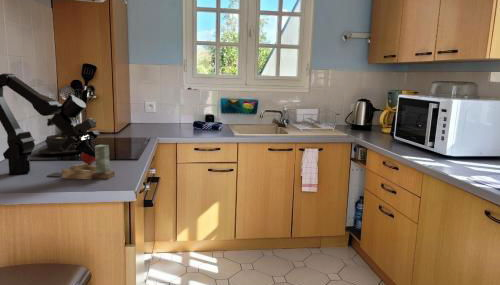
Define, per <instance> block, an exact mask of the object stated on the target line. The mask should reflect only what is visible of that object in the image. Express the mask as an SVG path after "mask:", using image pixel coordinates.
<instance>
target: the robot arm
mask: <svg viewBox="0 0 500 285" xmlns="http://www.w3.org/2000/svg"><path fill="white" fill-rule="evenodd" d="M4 87H8V88H9V89H10V90H12V91H13V92H15V93H16V94H17V95H19V96H21V97H22V98H24V99H25V100H27V101H28V103H30V104H31V106H32V107H33V109H34V110H35V111H36V112H37V113H38V114H39V115H40V116H42V117H46V116H47V117H48V116H52V117H51V118H47V122H46V125H47V127H51V126H56V128H57V129H58V130H59V131H60V133H61V135H62V136H66V137H67V138H66V140H65V141H64V142H63V143H62V144H61V149H62V150H63V151H64V152H66V151H69V150H70V149H69V147H70V146H71V145H74V144H75V146H76V148H75V149H74V150H75V151H79V152H80V153H81V154H82V153H85V154H88V155H90V156H93V157H95V145H94V143H93V142H95V140H96V139H97V138H98V137H99V136H100V135H101V133H100V132H99V131H98V130H96V129H95V128H97V121H96V120H95V119H94V118H92V117H89V118H87V119H85V120H84V121H82V122H75V121H74V120H73V119H76V118H78V116H79V115H80V114H81V113H82V112H83V111H84V110H85V109H86V107H87V105H86V103H85V102H84V101H83V99H80V98H78V97H76V95H74V94H70V95H68V96H67V97H66V99H65V101H64V102H62V103H61V102H59V101H58V100H56V99H55V98H52V97H50V96H46V95H44V94H42V93H40V92H38V91H37V90H35V89H34V88H33V87H31V86H29V85H28V84H27V83H25V82H24V81H22V80H21V79H19V77H17V75H15V74H13V73H1V74H0V124H1V125H2V127H3V128H4V129H3V130H4V131H5V133H6V134H7V137H6V138H7V139H6V140H7V142H6V143H7V146H8V148H7V149H6V150H5V151H4V152H3V153H2V155H3V157H4V158H3V159H5V160H8V174H7V175H8V176H11V175H12V176H14V175H26V174H27V175H28V174H30V173H29V172H31V159H29V157H30V156H32V154H33V151H34V149H35V146H36V145H35V142H34V141H35V138H33V136H32V133H31V132H30V131H25V130H24V129H23V128H21V126H20V124H19V123H18V121H17V119H16V117H15V115H14V113H13V111H12V110H11V108H10V107H9V105H8V103H7V101H6V98H5V97H4ZM72 118H73V119H72ZM22 129H23V130H22ZM91 129H93V130H91ZM94 129H95V130H94ZM79 152H78V153H79Z"/></svg>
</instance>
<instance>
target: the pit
mask: <svg viewBox="0 0 500 285" xmlns="http://www.w3.org/2000/svg"><path fill="white" fill-rule="evenodd" d="M46 177H47V178H61V177H62V172H53V173H50V174H47V175H46Z"/></svg>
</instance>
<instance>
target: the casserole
mask: <svg viewBox="0 0 500 285" xmlns="http://www.w3.org/2000/svg"><path fill="white" fill-rule="evenodd" d="M61 134H62V133H61ZM61 134H60V133H59V134H52V135H48V136H46V137H45V138H46V139H45V140H44V143H45V144H46V148H43V149H40V150H38V151H37V153H40V154H43V155H44V154H45V155H59V156H60V155H64V156H65V155H73V154H77V153H79V151H75V150H74V149H75V148H76V146H75V144H74V145H71V146H70V147H69V149H70V150H69V151H66V152H64V151H63V150H62V149H61V144H62V143H63V142H64V141H65V140H66V138H67V137H66V136H62V135H61Z"/></svg>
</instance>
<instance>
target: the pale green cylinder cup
mask: <svg viewBox="0 0 500 285" xmlns="http://www.w3.org/2000/svg"><path fill="white" fill-rule="evenodd" d="M94 147H95V166H96V171H95V172H92V179H98V180H99V179H101V180H103V179H104V180H110V179H112V178H113V177H115V170H110V169H111V168H110V145H109V144H98V145H94Z"/></svg>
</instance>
